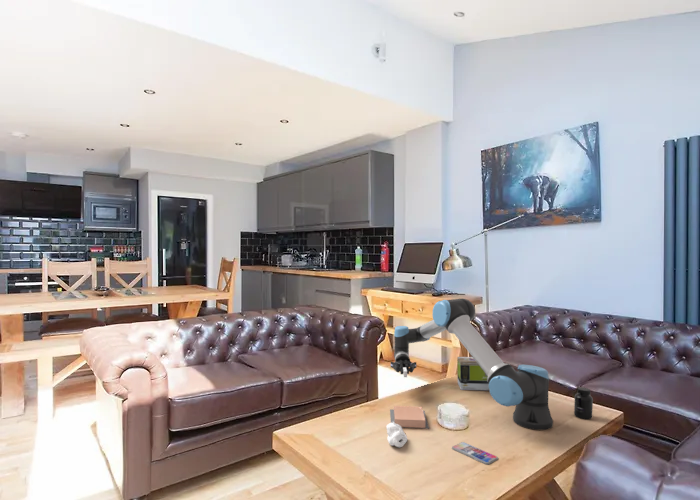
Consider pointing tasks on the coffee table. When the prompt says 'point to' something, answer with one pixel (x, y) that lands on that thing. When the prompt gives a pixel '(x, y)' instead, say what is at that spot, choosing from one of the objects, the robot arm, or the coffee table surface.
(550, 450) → the coffee table surface
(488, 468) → the coffee table surface
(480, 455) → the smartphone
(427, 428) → the mat
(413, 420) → the tile
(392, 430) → the white lumpy piece
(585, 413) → the supplement bottle
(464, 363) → the tea box
